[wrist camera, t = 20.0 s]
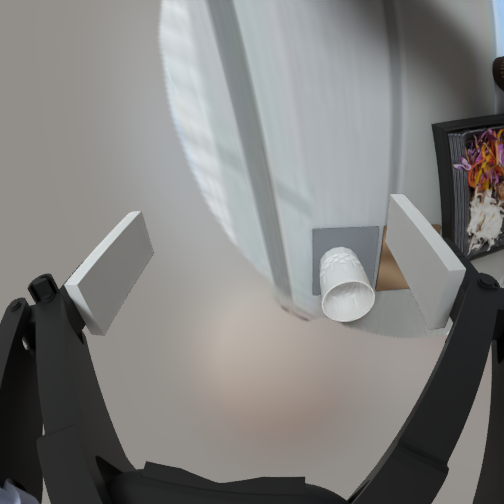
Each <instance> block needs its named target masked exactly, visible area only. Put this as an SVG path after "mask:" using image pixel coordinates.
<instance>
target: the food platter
mask: <svg viewBox="0 0 504 504" xmlns="http://www.w3.org/2000/svg"><path fill="white" fill-rule="evenodd" d="M431 125H432V130H433V136H434V142H435V149H436V156H437V164H438V173H439V183H440V196H441V213H442V238H448V239H449V240H451V241H452V242H454V243H455V244H456V245H457V246H458V247H459V249H460V250H461V252H463V254H464V255H465V257H467V259H468V260H469V261H471V260H474V259H477V258H480V257H483V256H486V255H489V254H491V253H494V252H497V251H500V250H502V249H504V114H499V115H491V116H482V117H475V118H468V119H461V120H454V121H448V122H442V123H436V124H431Z"/></svg>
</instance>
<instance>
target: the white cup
mask: <svg viewBox="0 0 504 504" xmlns="http://www.w3.org/2000/svg"><path fill="white" fill-rule="evenodd" d="M319 269H320V289H321V302H322V309H323V312H324V313H325V315H326V316H327V317H329V318H330V319H332V320H335V321H339V322H349V321H353V320H356V319H359V318H361V317H362V316H364V315H365V314H367V313H368V312H369V311H370V309H371V308H372V306H373V304H374V301H375V294H374V291H373V289H372V286H371V284H370V282H369V279H368V277H367V275H366V273H365V271H364V269H363V267H362V265H361V263H360V262H359V260H358V257H357V255H356V254H355V253H354V252H353V251H352V250H351V249H349V248H345V247H336V248H332V249H331V250H329V251H327V252H326V253H325V254H324V255H323V257H322V258H321V259H320V266H319Z"/></svg>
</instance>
